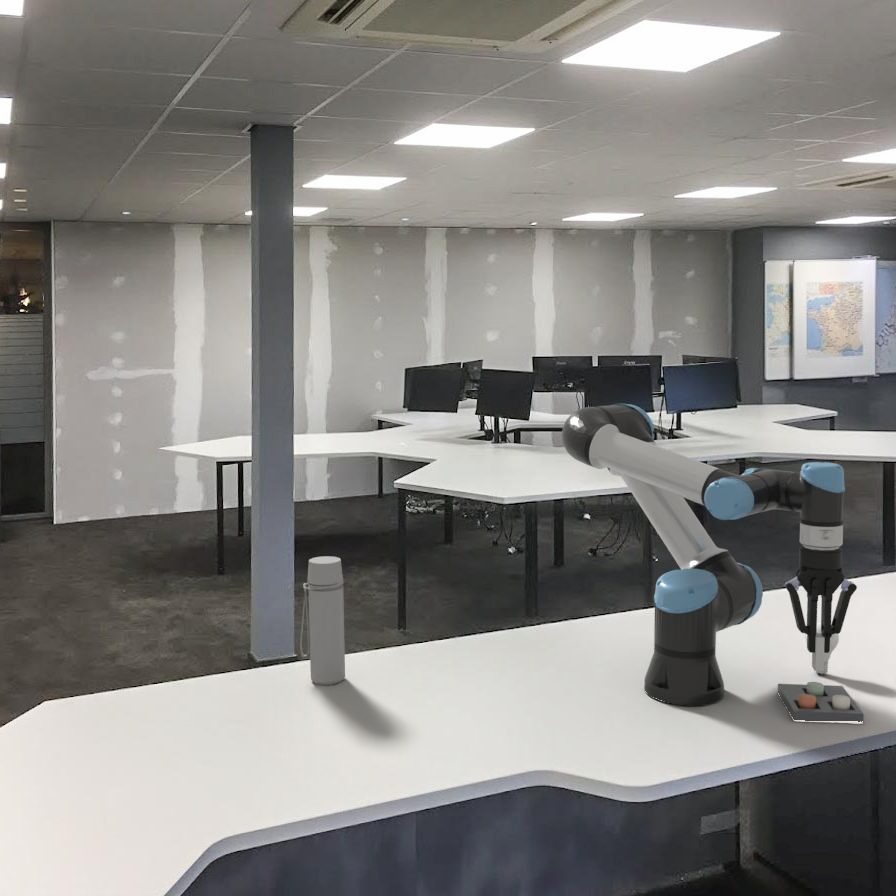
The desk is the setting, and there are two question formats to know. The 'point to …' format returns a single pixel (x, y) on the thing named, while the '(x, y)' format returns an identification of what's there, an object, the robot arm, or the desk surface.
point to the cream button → (840, 702)
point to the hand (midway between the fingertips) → (817, 668)
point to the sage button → (815, 688)
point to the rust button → (807, 701)
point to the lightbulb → (833, 644)
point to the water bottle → (325, 620)
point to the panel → (818, 704)
